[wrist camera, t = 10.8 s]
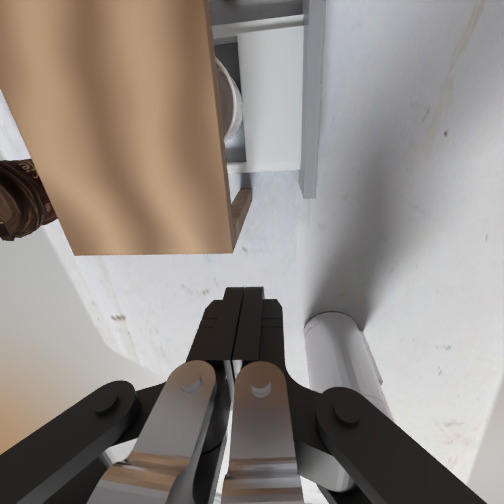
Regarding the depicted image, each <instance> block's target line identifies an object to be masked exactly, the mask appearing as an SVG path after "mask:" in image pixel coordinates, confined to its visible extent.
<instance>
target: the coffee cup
mask: <svg viewBox="0 0 504 504" xmlns="http://www.w3.org/2000/svg"><path fill="white" fill-rule="evenodd" d="M56 219H58V217H57V215H56V213H55V211H54V208H53V206H52V204H51V202H50V199H49V197H48V195H47V192H46V190H45V188H44V186H43V183H42V181H41V179H40V177H39V174H38V172H37V170H36V168H35V165H34V163H33V161H32V159H26V160H21V161H19V160H13V161H7V160H3V161H0V237H1V239H2V240H6V241H14V238H15V237H17V238H21V237H23V236H26V235H28V234H31V233H32V232H34V231H36V230H37V229H38V228H39V227H40V226H41V225H46V224H48V223H51V222H53V221H54V220H56Z"/></svg>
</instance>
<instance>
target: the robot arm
mask: <svg viewBox="0 0 504 504" xmlns="http://www.w3.org/2000/svg"><path fill="white" fill-rule="evenodd" d="M304 339H305V348H306V357H307V366H308V374H309V383H310V389H308V388H305V387H303V386H301V385H299V384H298V383H297V382H295V381H294V380H293V379H292V378H291V377H290V375H289V374H288V372H287V370H286V367H285V356H284V334H283V312H282V306H281V305H280V303H279V302H278V300H277V299H265V298H264V287H227V288H226V291H225V294H224V297H223V300H213V301H212V302H211V304H210V305H209V306H208V307H207V308H206V309H205V312H204V314H203V317H202V320H201V322H200V325H199V329H198V330H197V333H196V336H195V338H194V341H193V344H192V346H191V349H190V352H189V354H188V357H187V360H186V362H185V363H184V364H182V365H180V366H179V367H177V368H176V369H175V370H174V371H173V372H172V373H171V374H170V376H169V378H168V379H167V381H166V382H164V383H162V384H159V385H156V386H152V387H149V388H145V389H142V390H138V391H135V389H134V387H133V385H132V384H131V383H129V382H127V381H114V382H110V383H108V384H106V385H103V386H102V387H100V388H98V389H97V390H95V391H94V392H92V393H91V394H89V395H88V396H87V397H85V398H83V399H82V400H81V401H79V402H78V403H76V404H75V405H73V406H72V407H70V408H69V409H67V410H66V411H64V412H63V413H62V414H60V415H59V416H57V417H56V418H54V419H53V420H51V421H50V422H48V423H47V424H45V425H44V426H42V427H41V428H40V429H38V430H36V431H35V432H33V433H32V434H30V435H29V436H28V437H26V438H25V439H23V440H22V441H20V442H19V443H17V444H16V445H14V446H13V447H11V448H10V449H8V450H7V451H5V452H4V453H2V454H1V455H0V504H213V501H214V497H215V492H216V487H217V483H218V478H219V474H220V469H221V464H222V460H223V455H224V451H225V446H226V441H227V425H228V419H229V412H230V410H233V416H232V430H231V444H230V457H229V467H228V472H227V474H226V475H225V478H224V483H223V489H222V497H221V504H304V499H303V492H302V486H301V480H300V476H302V477H304V478H306V479H309V480H311V481H313V482H315V483H316V484H317V486H318V488H319V490H320V491H321V493H322V494H323V495H324V497H325V498H326V500H327V501H328V502H329V504H487V503H486V502H484V501H483V500H482V499H481V498H480V497H479V496H478V495H476V494H475V493H474V492H473V491H472V490H471V489H470V488H468V487H467V486H466V485H465V484H464V483H463V482H462V481H460V480H459V479H458V478H457V477H456V476H455V475H454V474H452V473H451V472H450V471H449V470H448V469H447V468H446V467H444V466H443V465H442V464H441V463H440V462H439V461H437V460H436V459H435V458H434V457H433V456H432V455H431V454H429V453H428V452H427V451H426V450H425V449H424V448H423V447H421V446H420V445H419V444H418V443H417V442H416V441H415V440H413V439H412V438H411V437H410V436H409V435H408V434H406V433H405V432H404V431H403V430H402V429H401V428H400V427H398V426H397V425H396V424H395V422H394V419H393V417H392V414H391V412H390V409H389V407H388V404H387V401H386V399H385V396H384V394H383V391H382V389H381V385H382V382H383V381H382V378H381V376H380V373H379V371H378V368H377V366H376V363H375V361H374V358H373V356H372V353H371V351H370V348H369V346H368V343H367V341H366V338H365V336H364V333H363V332H362V331H360V330H359V329H358V326H357V324H356V322H355V321H354V320H353V319H352V318H351V317H349V316H347V315H345V314H342V313H338V312H327V313H322V314H319V315H317V316H315V317H313V318H312V319H311V320H309V321H308V323H307V324H306V326H305V328H304Z"/></svg>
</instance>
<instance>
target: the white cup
mask: <svg viewBox="0 0 504 504" xmlns="http://www.w3.org/2000/svg"><path fill="white" fill-rule="evenodd" d="M215 59H216V69H217V78H218V87H219V97H220V106H221V115H222V125H223V134H224V143H225V142H226V141H228V140H229V139H230V138H231V137H232V136H233V135H234V134H235V133H236V132H237V131H238V130H239V128H240V126H241V123H242V120H243V102H242V97H241V94H240V91H239V89H238V87H237V85H236V84H235V82H234V80H233V79H232V77H231V76H230V74H229V73H228V72H227V70H226V69H225V67H224V66H223V64H222V63H221V62H220V61H219V60H218V59H217V58H216V57H215Z"/></svg>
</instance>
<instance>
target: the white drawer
mask: <svg viewBox="0 0 504 504" xmlns="http://www.w3.org/2000/svg"><path fill="white" fill-rule="evenodd" d="M325 5H326V0H302V15H294V16H286V17H278V18H270V19H262V20H254V21H246V22H238V23H230V24H222V25H214V26H212V31H213V41H214V45H219V44H227V43H236V42H238V54H239V67H240V81H241V95H242V102H243V122H244V136H245V150H246V162H237V163H227V171H228V174H231V173H250V172H269V171H288V170H299V185H300V188H301V191H302V194H303V198H304V199H308V198H316V184H317V164H318V144H319V124H320V104H321V84H322V64H323V44H324V25H325Z"/></svg>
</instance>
